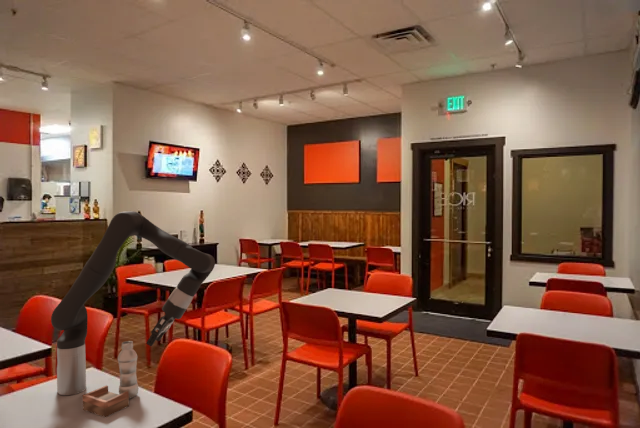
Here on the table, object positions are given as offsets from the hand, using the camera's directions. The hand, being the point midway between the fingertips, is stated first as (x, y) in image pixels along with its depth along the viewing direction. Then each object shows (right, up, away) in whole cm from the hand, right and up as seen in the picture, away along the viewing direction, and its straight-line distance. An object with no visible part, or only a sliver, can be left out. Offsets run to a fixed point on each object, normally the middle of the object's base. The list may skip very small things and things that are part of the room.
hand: (152, 342), depth 155 cm
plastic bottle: (-11, -21, +5) cm, 24 cm away
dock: (-15, -22, -4) cm, 26 cm away
